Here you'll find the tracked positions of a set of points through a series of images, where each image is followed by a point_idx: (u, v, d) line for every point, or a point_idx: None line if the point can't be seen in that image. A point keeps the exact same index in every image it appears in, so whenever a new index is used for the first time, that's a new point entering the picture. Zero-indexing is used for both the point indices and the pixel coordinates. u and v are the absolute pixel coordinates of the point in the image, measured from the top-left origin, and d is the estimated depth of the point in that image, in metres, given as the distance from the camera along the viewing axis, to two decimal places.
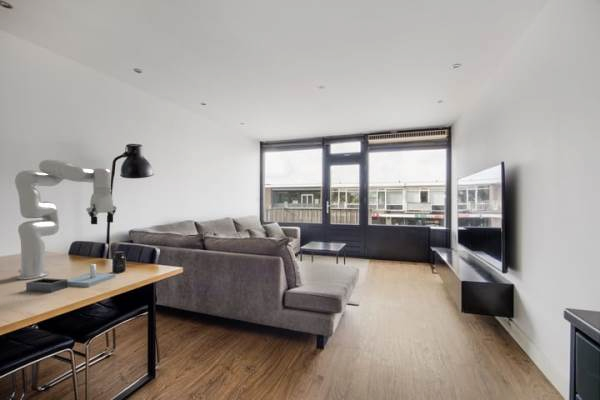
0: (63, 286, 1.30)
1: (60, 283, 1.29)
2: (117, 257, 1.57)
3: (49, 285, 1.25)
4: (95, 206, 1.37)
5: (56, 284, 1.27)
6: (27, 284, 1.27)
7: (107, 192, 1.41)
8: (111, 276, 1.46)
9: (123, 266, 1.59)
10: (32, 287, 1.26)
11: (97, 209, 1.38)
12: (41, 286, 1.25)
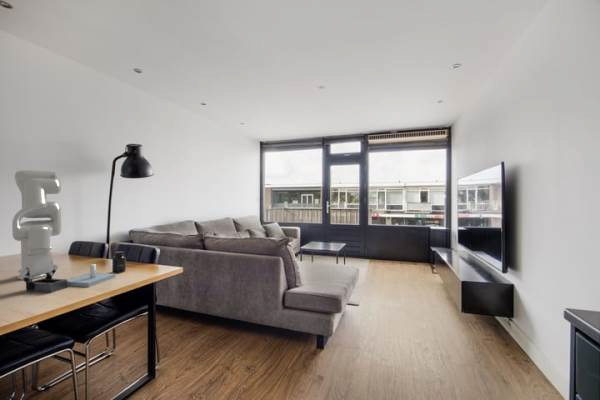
0: (63, 286, 1.30)
1: (60, 283, 1.29)
2: (117, 257, 1.57)
3: (49, 285, 1.25)
4: (29, 271, 1.25)
5: (56, 284, 1.27)
6: None
7: (44, 252, 1.29)
8: (111, 276, 1.46)
9: (123, 266, 1.59)
10: None
11: (31, 273, 1.25)
12: (41, 286, 1.25)
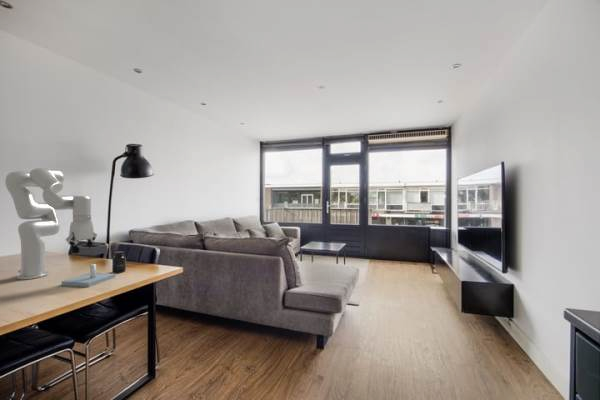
0: (104, 251, 1.42)
1: (101, 247, 1.41)
2: (117, 257, 1.57)
3: (92, 248, 1.37)
4: (74, 235, 1.37)
5: (98, 248, 1.39)
6: None
7: (87, 219, 1.41)
8: (111, 276, 1.46)
9: (123, 266, 1.59)
10: None
11: (76, 237, 1.37)
12: (85, 249, 1.37)
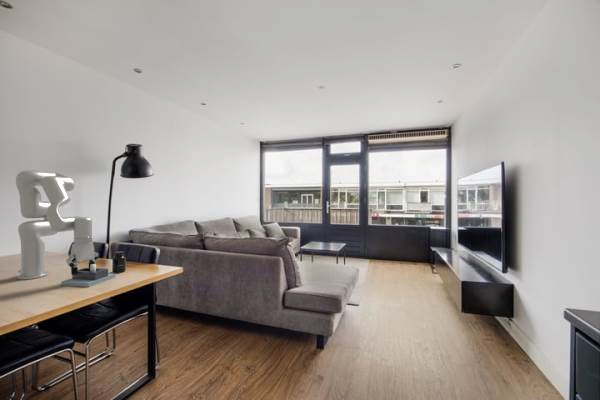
0: (105, 274, 1.43)
1: (102, 272, 1.42)
2: (117, 257, 1.57)
3: (94, 273, 1.37)
4: (75, 256, 1.37)
5: (99, 272, 1.40)
6: None
7: (88, 241, 1.41)
8: (111, 276, 1.46)
9: (123, 266, 1.59)
10: (77, 275, 1.39)
11: (77, 259, 1.38)
12: (86, 274, 1.38)
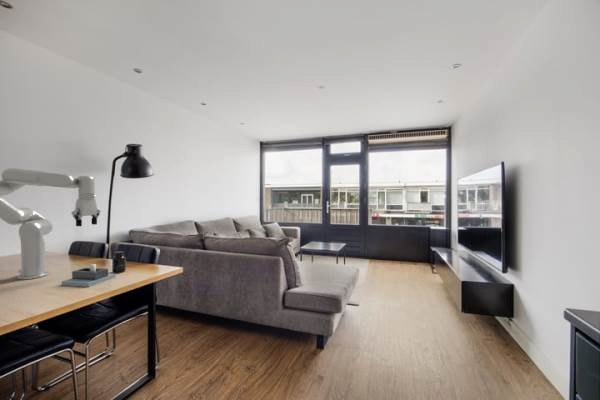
0: (105, 274, 1.43)
1: (102, 272, 1.42)
2: (117, 257, 1.57)
3: (94, 273, 1.37)
4: (80, 210, 1.53)
5: (99, 272, 1.40)
6: (73, 272, 1.39)
7: (91, 197, 1.57)
8: (111, 276, 1.46)
9: (123, 266, 1.59)
10: (77, 275, 1.39)
11: (81, 212, 1.53)
12: (86, 274, 1.38)
